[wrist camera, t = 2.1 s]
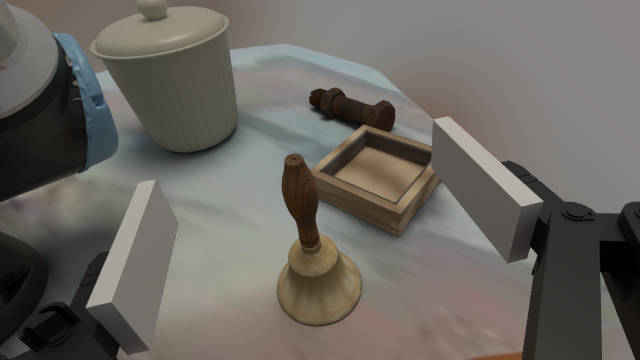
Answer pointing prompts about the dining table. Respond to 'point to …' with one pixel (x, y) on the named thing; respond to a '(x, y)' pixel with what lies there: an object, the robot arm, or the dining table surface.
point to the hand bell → (313, 258)
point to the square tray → (377, 177)
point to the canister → (173, 73)
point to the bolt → (353, 109)
